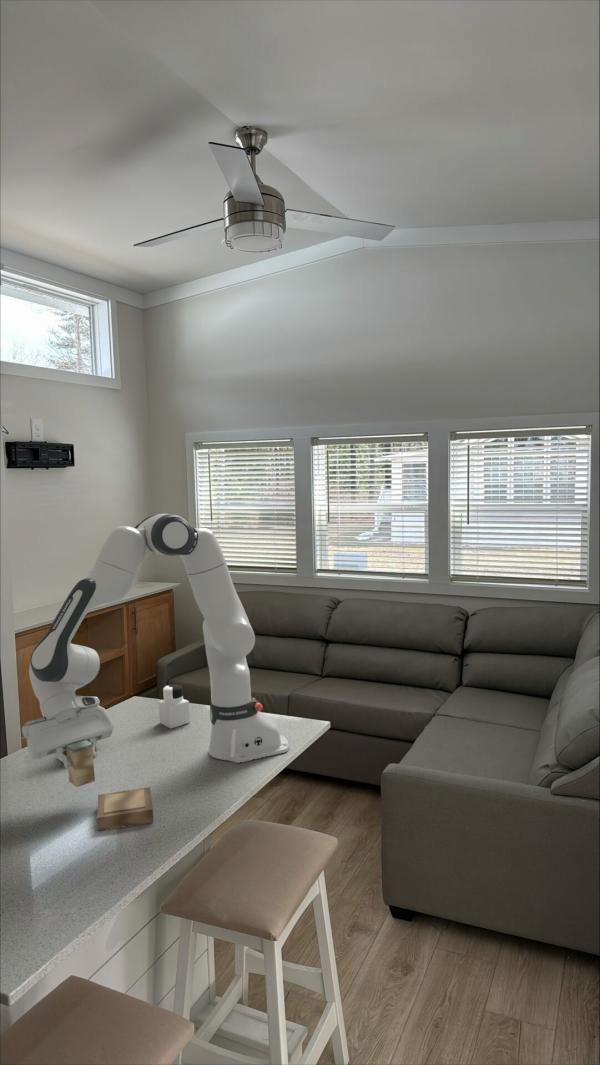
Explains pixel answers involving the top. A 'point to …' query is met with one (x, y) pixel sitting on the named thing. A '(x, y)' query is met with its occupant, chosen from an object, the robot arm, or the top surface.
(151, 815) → the base slab
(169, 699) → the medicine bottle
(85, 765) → the tan tall block
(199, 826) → the top surface
